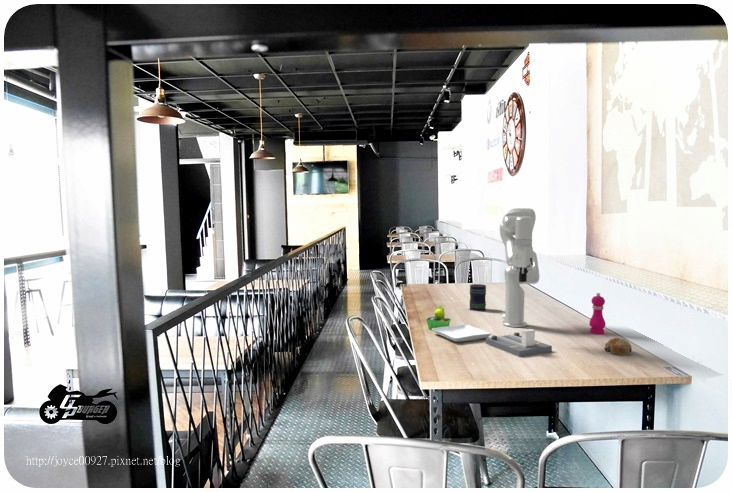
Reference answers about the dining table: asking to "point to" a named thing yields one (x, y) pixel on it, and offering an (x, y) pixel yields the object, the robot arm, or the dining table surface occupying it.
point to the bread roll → (618, 347)
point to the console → (517, 345)
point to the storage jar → (477, 297)
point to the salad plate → (461, 333)
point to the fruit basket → (438, 319)
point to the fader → (528, 337)
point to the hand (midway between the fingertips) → (522, 281)
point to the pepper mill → (597, 315)
